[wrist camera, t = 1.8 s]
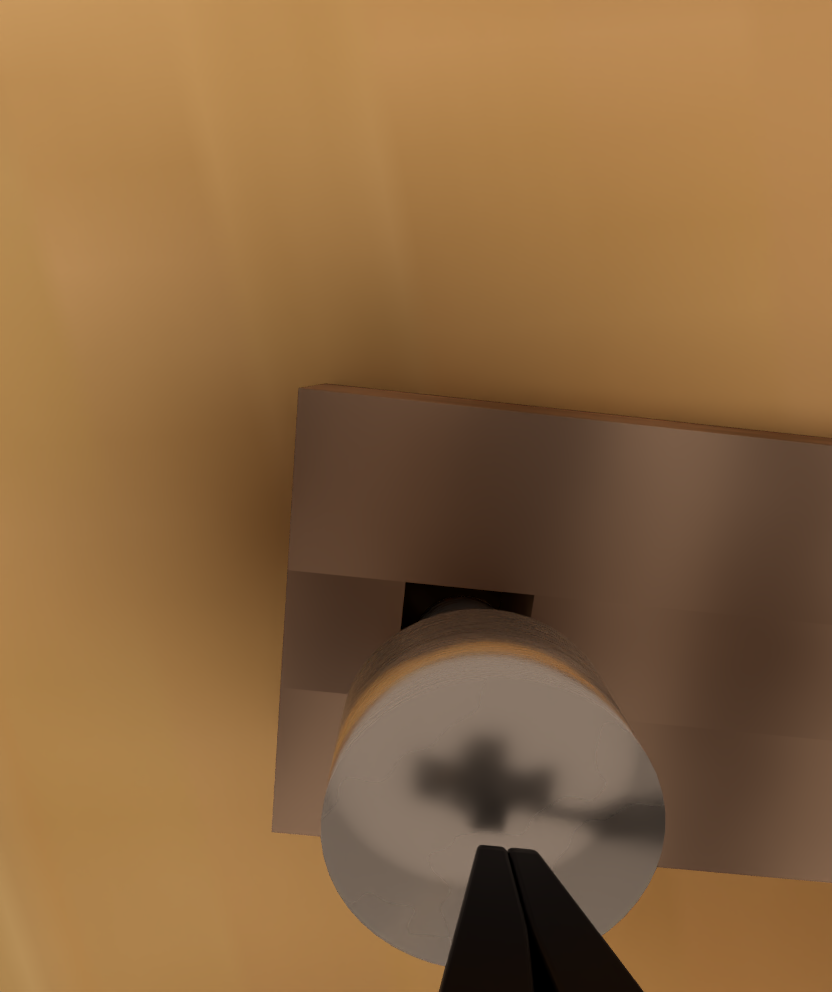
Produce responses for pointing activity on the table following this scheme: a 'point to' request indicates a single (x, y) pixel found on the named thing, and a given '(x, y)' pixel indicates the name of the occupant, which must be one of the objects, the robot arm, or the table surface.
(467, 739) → the grey plunger
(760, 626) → the press block
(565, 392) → the table surface
